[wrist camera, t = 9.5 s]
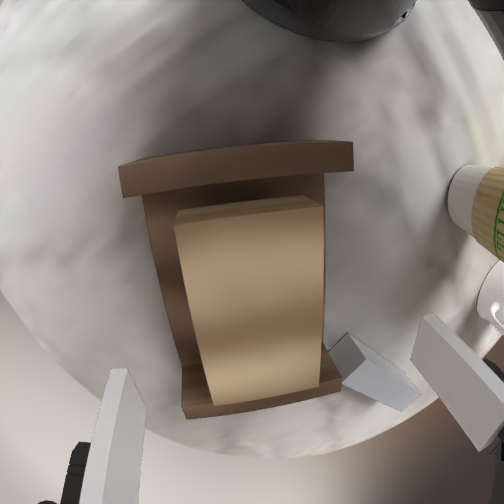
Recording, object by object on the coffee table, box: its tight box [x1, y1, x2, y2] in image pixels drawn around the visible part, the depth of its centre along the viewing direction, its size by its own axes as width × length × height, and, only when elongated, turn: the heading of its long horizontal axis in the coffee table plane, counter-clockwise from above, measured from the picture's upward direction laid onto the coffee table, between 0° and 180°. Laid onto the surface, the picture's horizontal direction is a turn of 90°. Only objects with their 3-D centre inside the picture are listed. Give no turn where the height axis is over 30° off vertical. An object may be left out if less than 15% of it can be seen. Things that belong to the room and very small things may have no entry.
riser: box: [328, 332, 421, 412], centre depth 27 cm, size 12×3×4 cm, turn 51°
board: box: [174, 195, 324, 406], centre depth 17 cm, size 12×7×3 cm, turn 6°
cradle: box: [118, 140, 354, 419], centre depth 20 cm, size 18×12×6 cm, turn 6°
